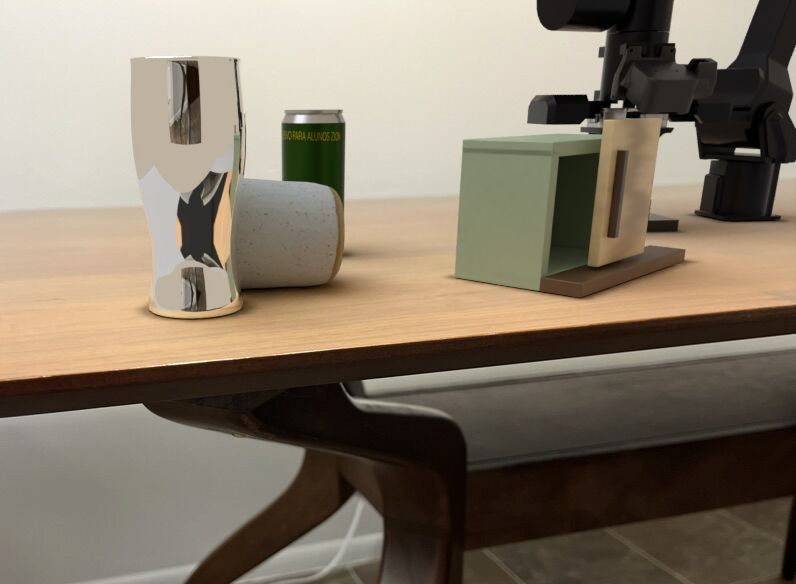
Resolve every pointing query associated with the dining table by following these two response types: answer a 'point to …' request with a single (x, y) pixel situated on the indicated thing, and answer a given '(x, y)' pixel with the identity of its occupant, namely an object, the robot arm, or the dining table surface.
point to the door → (623, 189)
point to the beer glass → (190, 178)
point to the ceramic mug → (288, 234)
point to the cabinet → (538, 216)
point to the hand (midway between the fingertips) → (617, 197)
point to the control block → (661, 223)
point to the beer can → (314, 148)
